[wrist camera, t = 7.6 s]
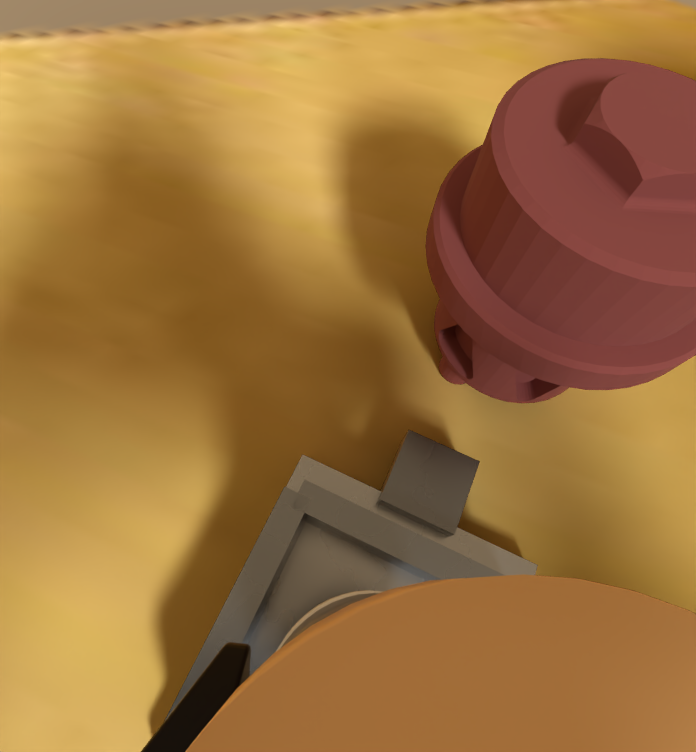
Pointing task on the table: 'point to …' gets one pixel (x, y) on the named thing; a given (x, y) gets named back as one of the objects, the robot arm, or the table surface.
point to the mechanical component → (571, 235)
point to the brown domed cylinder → (473, 673)
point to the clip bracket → (353, 545)
